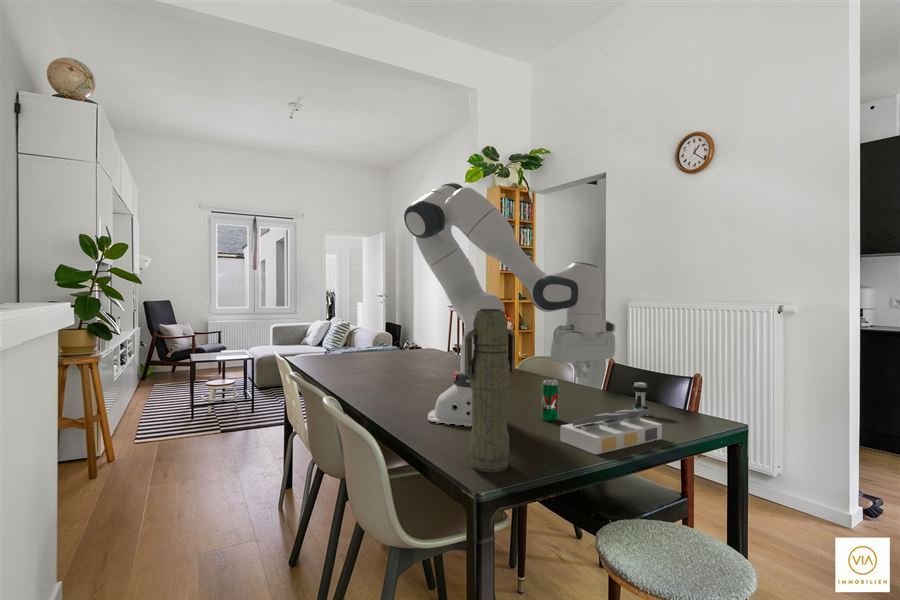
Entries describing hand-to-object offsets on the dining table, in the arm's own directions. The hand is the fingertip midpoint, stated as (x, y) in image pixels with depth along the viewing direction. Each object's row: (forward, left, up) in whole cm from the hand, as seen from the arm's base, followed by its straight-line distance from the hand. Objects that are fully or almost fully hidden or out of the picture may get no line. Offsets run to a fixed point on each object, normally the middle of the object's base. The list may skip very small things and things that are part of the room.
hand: (582, 377), depth 121 cm
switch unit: (+8, +2, -17) cm, 19 cm away
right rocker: (+15, +7, -11) cm, 19 cm away
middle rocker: (+8, +2, -11) cm, 13 cm away
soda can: (-6, +20, -17) cm, 27 cm away
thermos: (-24, -20, -17) cm, 35 cm away
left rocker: (+2, -2, -11) cm, 11 cm away
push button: (+24, +30, -17) cm, 42 cm away
